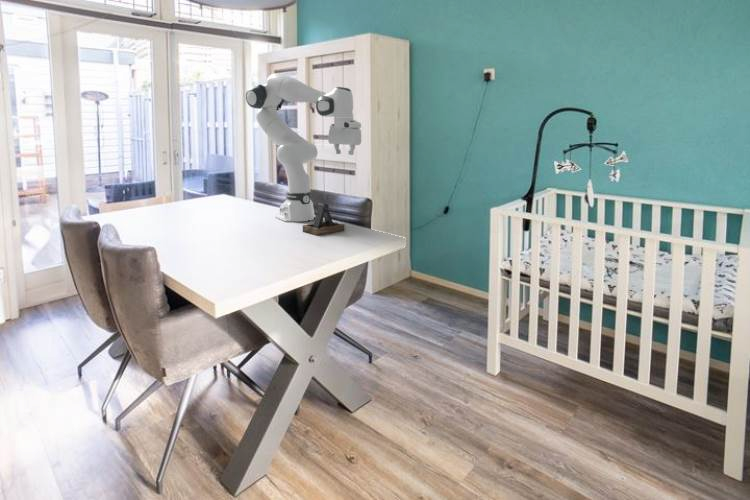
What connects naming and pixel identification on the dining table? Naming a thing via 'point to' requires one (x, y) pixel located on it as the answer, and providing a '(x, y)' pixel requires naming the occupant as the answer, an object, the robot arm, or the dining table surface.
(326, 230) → the walnut tray
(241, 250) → the dining table surface
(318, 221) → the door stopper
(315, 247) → the dining table surface
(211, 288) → the dining table surface
